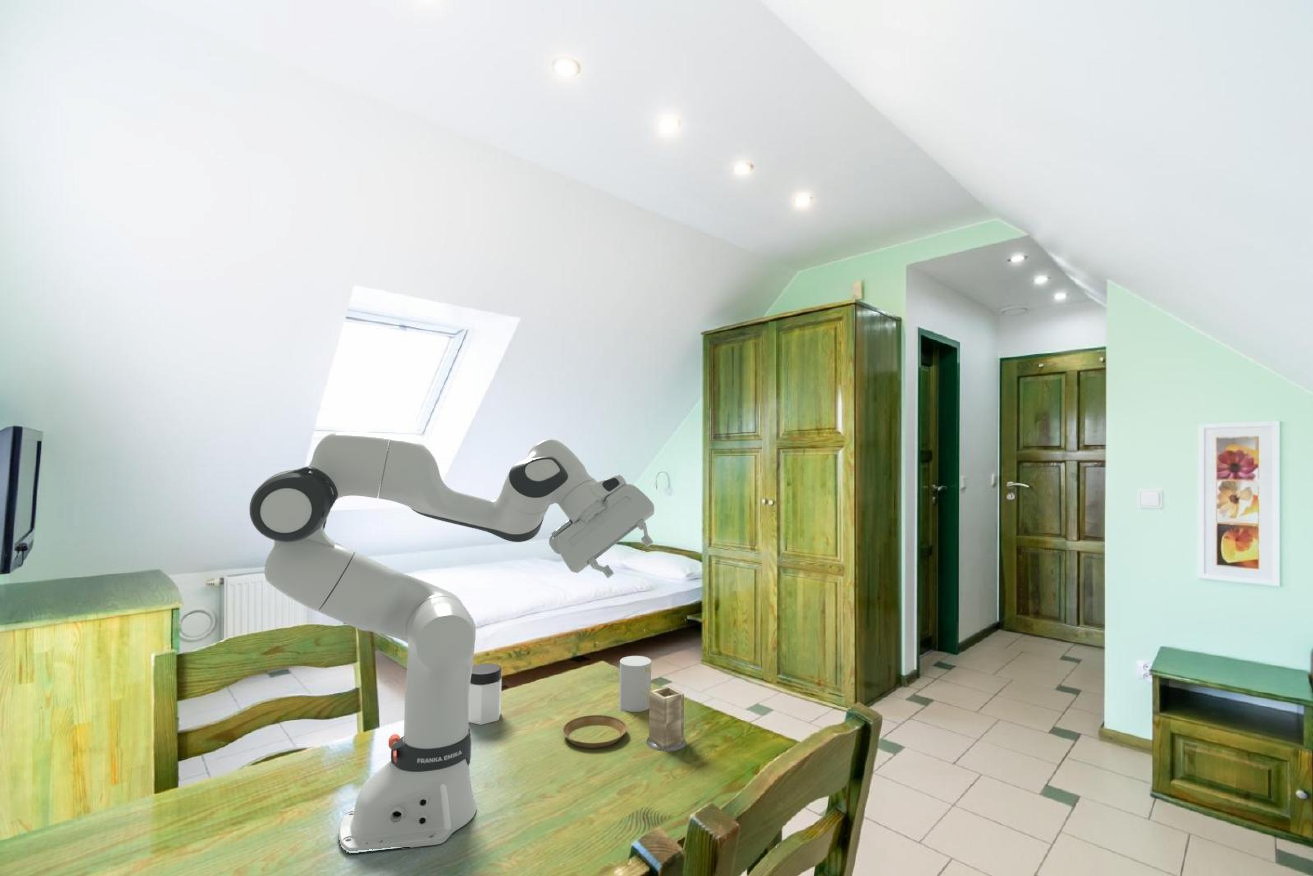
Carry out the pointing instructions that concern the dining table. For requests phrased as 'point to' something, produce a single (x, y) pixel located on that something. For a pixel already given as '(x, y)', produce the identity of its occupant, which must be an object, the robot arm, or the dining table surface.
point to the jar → (485, 694)
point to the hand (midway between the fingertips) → (630, 559)
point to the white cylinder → (635, 683)
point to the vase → (666, 717)
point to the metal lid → (665, 749)
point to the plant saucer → (594, 720)
